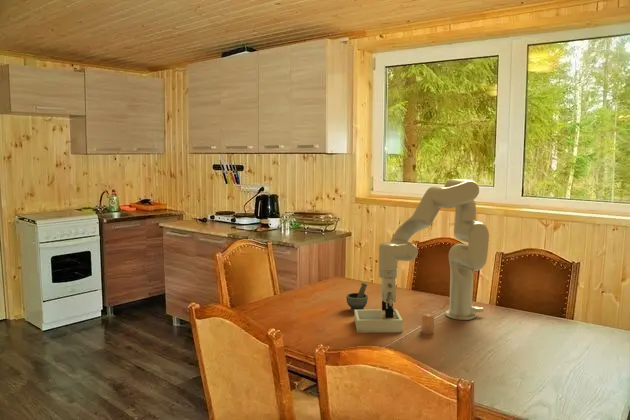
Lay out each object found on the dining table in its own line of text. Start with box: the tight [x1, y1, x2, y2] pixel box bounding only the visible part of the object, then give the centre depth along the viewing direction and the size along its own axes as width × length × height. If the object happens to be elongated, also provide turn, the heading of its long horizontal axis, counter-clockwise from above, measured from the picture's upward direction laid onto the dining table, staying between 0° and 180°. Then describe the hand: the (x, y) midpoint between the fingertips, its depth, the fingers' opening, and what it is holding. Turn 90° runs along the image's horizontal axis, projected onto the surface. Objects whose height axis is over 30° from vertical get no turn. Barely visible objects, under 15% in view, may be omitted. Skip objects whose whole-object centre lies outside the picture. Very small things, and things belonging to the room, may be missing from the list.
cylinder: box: [420, 312, 435, 335], centre depth 206 cm, size 5×5×7 cm
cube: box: [381, 310, 395, 319], centre depth 213 cm, size 5×5×5 cm
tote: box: [353, 308, 404, 334], centre depth 213 cm, size 18×14×5 cm
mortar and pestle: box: [346, 282, 369, 313], centre depth 234 cm, size 11×9×12 cm
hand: (387, 313), depth 212 cm, fingers open, 9 cm apart
